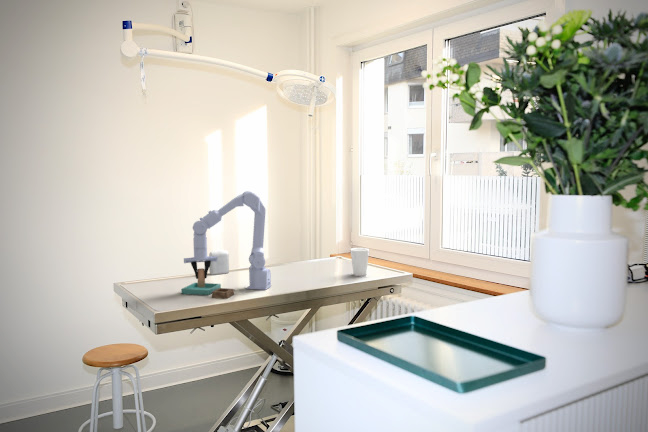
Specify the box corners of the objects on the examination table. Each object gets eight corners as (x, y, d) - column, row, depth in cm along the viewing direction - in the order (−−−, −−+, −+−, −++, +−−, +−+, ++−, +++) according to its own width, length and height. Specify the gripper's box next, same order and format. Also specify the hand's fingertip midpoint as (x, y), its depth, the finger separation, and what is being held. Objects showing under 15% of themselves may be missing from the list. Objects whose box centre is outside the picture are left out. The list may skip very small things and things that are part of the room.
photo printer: (226, 271, 288) (226, 248, 287) (230, 273, 284) (229, 249, 283) (208, 274, 282) (207, 250, 281) (211, 275, 279) (210, 251, 277)
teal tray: (220, 288, 250) (220, 283, 250) (208, 295, 238) (208, 290, 238) (194, 287, 253) (194, 282, 253) (181, 293, 241) (181, 288, 241)
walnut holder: (233, 294, 239) (233, 288, 239) (227, 298, 233) (227, 292, 232) (218, 293, 241) (218, 288, 241) (212, 297, 234) (211, 291, 234)
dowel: (206, 286, 246) (205, 268, 246) (203, 287, 243) (202, 270, 243) (199, 285, 247) (199, 268, 246) (196, 287, 244) (195, 269, 243)
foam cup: (346, 274, 280) (346, 249, 279) (360, 271, 286) (360, 247, 285) (359, 277, 273) (359, 251, 272) (372, 274, 278) (373, 249, 277)
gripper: (216, 245, 249) (216, 275, 251) (183, 247, 245) (184, 277, 247) (217, 248, 243) (218, 278, 244) (183, 249, 239) (184, 280, 240)
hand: (201, 278), depth 245 cm, fingers closed on dowel, 3 cm apart
